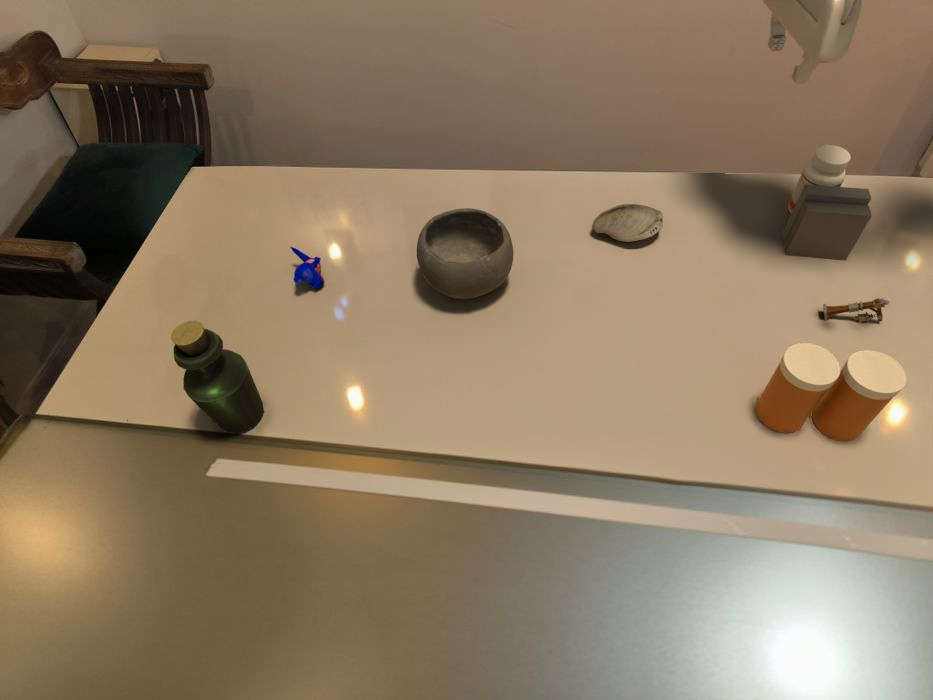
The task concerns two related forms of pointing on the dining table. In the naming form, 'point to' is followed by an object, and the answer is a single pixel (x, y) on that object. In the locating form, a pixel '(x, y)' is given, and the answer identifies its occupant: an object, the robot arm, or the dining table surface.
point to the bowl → (465, 252)
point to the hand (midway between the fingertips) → (786, 64)
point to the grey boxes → (827, 221)
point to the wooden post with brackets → (856, 307)
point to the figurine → (308, 270)
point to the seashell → (629, 222)
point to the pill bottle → (822, 170)
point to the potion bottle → (216, 378)
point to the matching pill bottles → (829, 390)
